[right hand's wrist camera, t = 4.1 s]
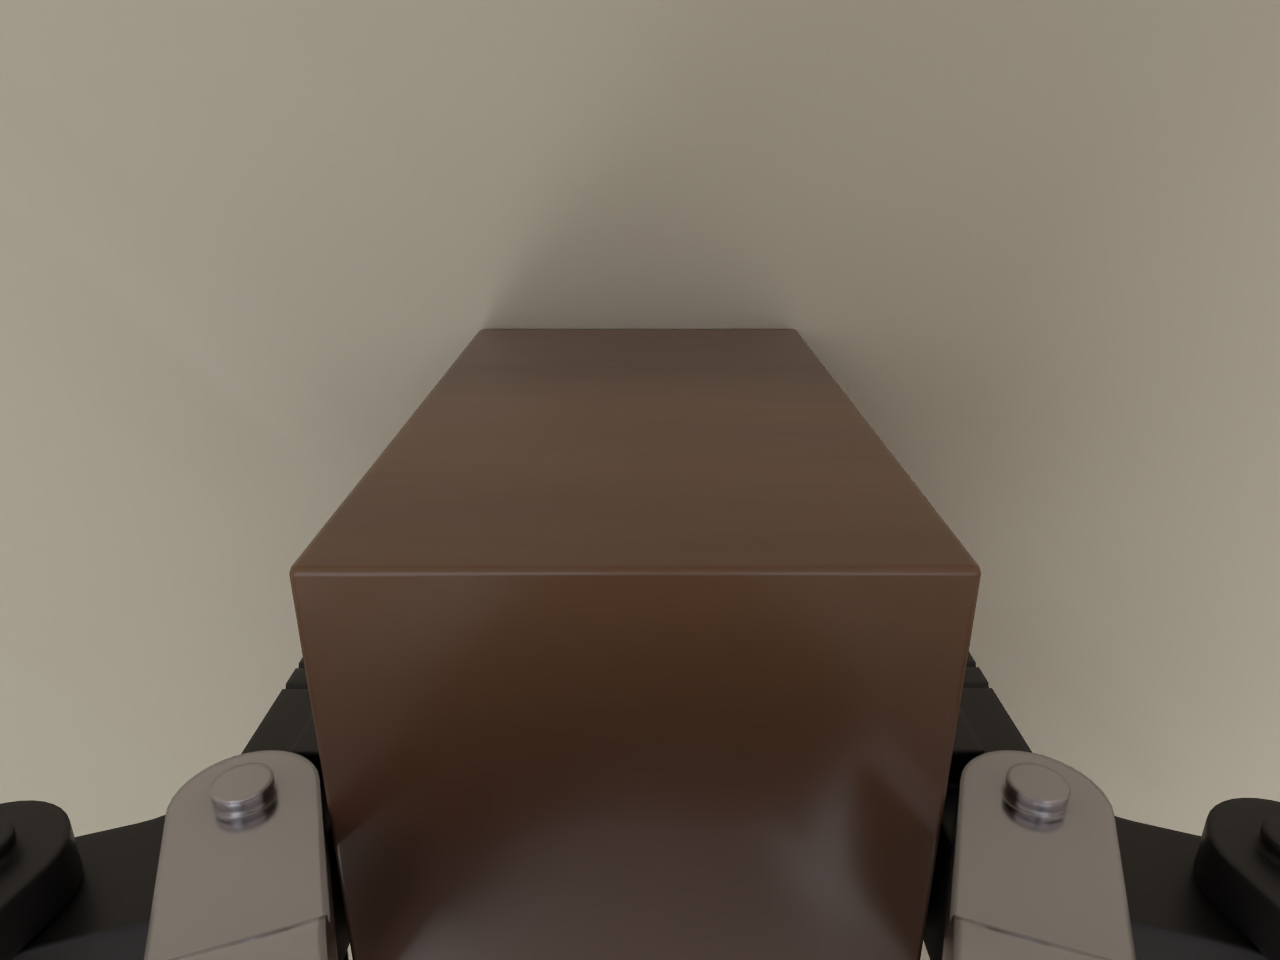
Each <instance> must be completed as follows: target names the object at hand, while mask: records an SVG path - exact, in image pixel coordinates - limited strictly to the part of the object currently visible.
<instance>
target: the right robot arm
mask: <svg viewBox="0 0 1280 960" xmlns="http://www.w3.org/2000/svg"><path fill="white" fill-rule="evenodd" d="M923 940H924V943H925V946H926V949H927V951H928V954H929V957H930V960H1280V802H1277V801H1272V800H1266V799H1259V798H1237V799H1231V800H1227V801H1224V802H1221V803H1220V804H1218V805H1216V806H1215V807H1214V808H1213V809H1212V810H1211V811H1210V813H1209V815H1208V817H1207V820H1206V823H1205V827H1204V830H1203V833H1202V837H1201V836H1197V835H1192V834H1188V833H1183V832H1179V831H1174V830H1170V829H1165V828H1161V827H1156V826H1152V825H1147V824H1143V823H1138V822H1134V821H1130V820H1127V819H1123V818H1119V817H1116V816H1114V812H1113V809H1112V806H1111V804H1110V802H1109V800H1108V798H1107V797H1106V796H1105V794H1104V793H1103V792H1102V790H1101V789H1100V788H1099V787H1098V786H1097V785H1096V784H1095V783H1094V782H1092V781H1091V780H1090V779H1089V778H1087V777H1086V776H1085V775H1083V774H1082V773H1080V772H1079V771H1077V770H1075V769H1074V768H1072V767H1070V766H1068V765H1066V764H1064V763H1062V762H1060V761H1057V760H1054V759H1052V758H1049V757H1046V756H1043V755H1039V754H1035V753H1032V751H1031V750H1030V748H1029V747H1028V745H1027V744H1026V742H1025V740H1024V739H1023V737H1022V736H1021V734H1020V732H1019V731H1018V729H1017V728H1016V726H1015V724H1014V723H1013V721H1012V720H1011V718H1010V716H1009V715H1008V713H1007V712H1006V710H1005V708H1004V707H1003V705H1002V704H1001V702H1000V701H999V699H998V697H997V696H996V694H995V693H994V691H993V689H992V688H989V687H988V681H987V680H986V678H985V677H984V675H983V673H982V672H981V670H980V669H979V667H976V662H975V661H974V659H973V658H972V656H971V654H970V653H969V651H968V658H967V664H966V670H965V677H964V683H963V689H962V696H961V702H960V708H959V715H958V721H957V727H956V734H955V740H954V747H953V753H952V759H951V766H950V772H949V778H948V785H947V791H946V797H945V804H944V810H943V816H942V823H941V829H940V836H939V842H938V848H937V855H936V861H935V867H934V874H933V880H932V886H931V893H930V899H929V905H928V912H927V918H926V924H925V931H924V937H923ZM349 943H350V939H349V933H348V927H347V921H346V915H345V909H344V903H343V897H342V891H341V884H340V878H339V872H338V866H337V860H336V854H335V848H334V842H333V836H332V830H331V824H330V818H329V811H328V805H327V799H326V793H325V787H324V781H323V775H322V769H321V763H320V757H319V751H318V744H317V738H316V732H315V726H314V720H313V714H312V708H311V702H310V696H309V690H308V684H307V678H306V671H305V665H304V659H303V658H302V660H301V661H300V663H299V668H296V669H295V671H294V672H293V674H292V675H291V677H290V678H289V680H288V682H287V683H286V689H282V691H281V693H280V694H279V696H278V697H277V699H276V700H275V702H274V703H273V705H272V707H271V708H270V710H269V711H268V713H267V714H266V716H265V718H264V719H263V721H262V722H261V724H260V725H259V727H258V729H257V730H256V732H255V733H254V735H253V736H252V738H251V740H250V741H249V743H248V744H247V746H246V747H245V749H244V751H243V752H242V754H241V755H237V756H234V757H231V758H228V759H226V760H223V761H220V762H218V763H216V764H214V765H212V766H210V767H208V768H206V769H205V770H203V771H201V772H200V773H198V774H197V775H195V776H194V777H193V778H191V779H190V780H189V781H188V782H187V783H185V784H184V785H183V786H182V787H181V788H180V789H179V791H178V792H177V793H176V794H175V796H174V797H173V798H172V800H171V802H170V804H169V806H168V809H167V812H166V815H164V816H161V817H158V818H155V819H152V820H149V821H145V822H141V823H137V824H133V825H128V826H124V827H119V828H115V829H110V830H106V831H101V832H97V833H92V834H88V835H84V836H79V837H74V834H73V830H72V827H71V824H70V821H69V818H68V816H67V814H66V813H65V812H64V811H63V810H62V809H61V808H59V807H58V806H56V805H54V804H51V803H47V802H42V801H16V802H9V803H3V804H0V960H349V955H348V946H349Z"/></svg>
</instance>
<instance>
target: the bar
mask: <svg viewBox="0 0 1280 960" xmlns="http://www.w3.org/2000/svg"><path fill="white" fill-rule="evenodd" d="M980 575H981V571H980V568H979V566H978V565H977V563H976V562H975V561H974V559H973V558H972V557H971V555H970V554H969V553H968V552H967V550H966V549H965V548H964V546H963V545H962V544H961V543H960V541H959V540H958V539H957V537H956V536H955V535H954V534H953V532H952V531H951V530H950V528H949V527H948V526H947V525H946V523H945V522H944V521H943V519H942V518H941V517H940V516H939V514H938V513H937V512H936V510H935V509H934V508H933V507H932V505H931V504H930V503H929V501H928V500H927V499H926V498H925V496H924V495H923V494H922V492H921V491H920V490H919V489H918V487H917V486H916V485H915V483H914V482H913V481H912V479H911V478H910V477H909V476H908V474H907V473H906V472H905V470H904V469H903V468H902V467H901V465H900V464H899V463H898V461H897V460H896V459H895V458H894V456H893V455H892V454H891V452H890V451H889V450H888V449H887V447H886V446H885V445H884V443H883V442H882V441H881V440H880V438H879V437H878V436H877V434H876V433H875V432H874V431H873V429H872V428H871V427H870V425H869V424H868V423H867V422H866V420H865V419H864V418H863V416H862V415H861V414H860V412H859V411H858V410H857V409H856V407H855V406H854V405H853V403H852V402H851V401H850V400H849V398H848V397H847V396H846V394H845V393H844V392H843V391H842V389H841V388H840V387H839V385H838V384H837V383H836V382H835V380H834V379H833V378H832V376H831V375H830V374H829V373H828V371H827V370H826V369H825V367H824V366H823V365H822V364H821V362H820V361H819V360H818V358H817V357H816V356H815V355H814V353H813V352H812V351H811V349H810V348H809V347H808V346H807V344H806V343H805V342H804V340H803V339H802V338H801V336H800V335H799V334H798V333H797V331H796V330H794V329H483V330H480V331H479V332H478V334H477V335H476V336H475V337H474V339H473V340H472V341H471V342H470V344H469V345H468V346H467V347H466V349H465V350H464V351H463V352H462V354H461V355H460V356H459V358H458V359H457V360H456V361H455V363H454V364H453V365H452V366H451V368H450V369H449V370H448V371H447V373H446V374H445V375H444V376H443V378H442V379H441V380H440V381H439V383H438V384H437V385H436V386H435V388H434V389H433V390H432V391H431V393H430V394H429V395H428V396H427V398H426V399H425V400H424V401H423V403H422V404H421V405H420V406H419V408H418V409H417V410H416V411H415V413H414V414H413V415H412V416H411V418H410V419H409V420H408V421H407V423H406V424H405V425H404V426H403V428H402V429H401V430H400V431H399V433H398V434H397V435H396V436H395V438H394V439H393V440H392V441H391V443H390V444H389V445H388V446H387V448H386V449H385V450H384V451H383V453H382V454H381V455H380V456H379V458H378V459H377V460H376V462H375V463H374V464H373V465H372V467H371V468H370V469H369V470H368V472H367V473H366V474H365V475H364V477H363V478H362V479H361V480H360V482H359V483H358V484H357V485H356V487H355V488H354V489H353V490H352V492H351V493H350V494H349V495H348V497H347V498H346V499H345V500H344V502H343V503H342V504H341V505H340V507H339V508H338V509H337V510H336V512H335V513H334V514H333V515H332V517H331V518H330V519H329V520H328V522H327V523H326V524H325V525H324V527H323V528H322V529H321V530H320V532H319V533H318V534H317V535H316V537H315V538H314V539H313V540H312V542H311V543H310V544H309V545H308V547H307V548H306V549H305V550H304V552H303V553H302V554H301V555H300V557H299V558H298V559H297V560H296V562H295V563H294V564H293V566H292V567H291V570H290V580H291V586H292V592H293V598H294V605H295V611H296V617H297V623H298V629H299V635H300V641H301V647H302V653H303V659H304V665H305V671H306V678H307V684H308V690H309V696H310V702H311V708H312V714H313V720H314V726H315V732H316V738H317V744H318V751H319V757H320V763H321V769H322V775H323V781H324V787H325V793H326V799H327V805H328V811H329V818H330V824H331V830H332V836H333V842H334V848H335V854H336V860H337V866H338V872H339V878H340V884H341V891H342V897H343V903H344V909H345V915H346V921H347V927H348V933H349V939H350V945H351V951H352V958H353V960H920V956H921V950H922V944H923V937H924V931H925V924H926V918H927V912H928V905H929V899H930V893H931V886H932V880H933V874H934V867H935V861H936V855H937V848H938V842H939V836H940V829H941V823H942V816H943V810H944V804H945V797H946V791H947V785H948V778H949V772H950V766H951V759H952V753H953V747H954V740H955V734H956V727H957V721H958V715H959V708H960V702H961V696H962V689H963V683H964V677H965V670H966V664H967V658H968V651H969V645H970V639H971V632H972V626H973V619H974V613H975V607H976V600H977V594H978V588H979V581H980Z"/></svg>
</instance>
